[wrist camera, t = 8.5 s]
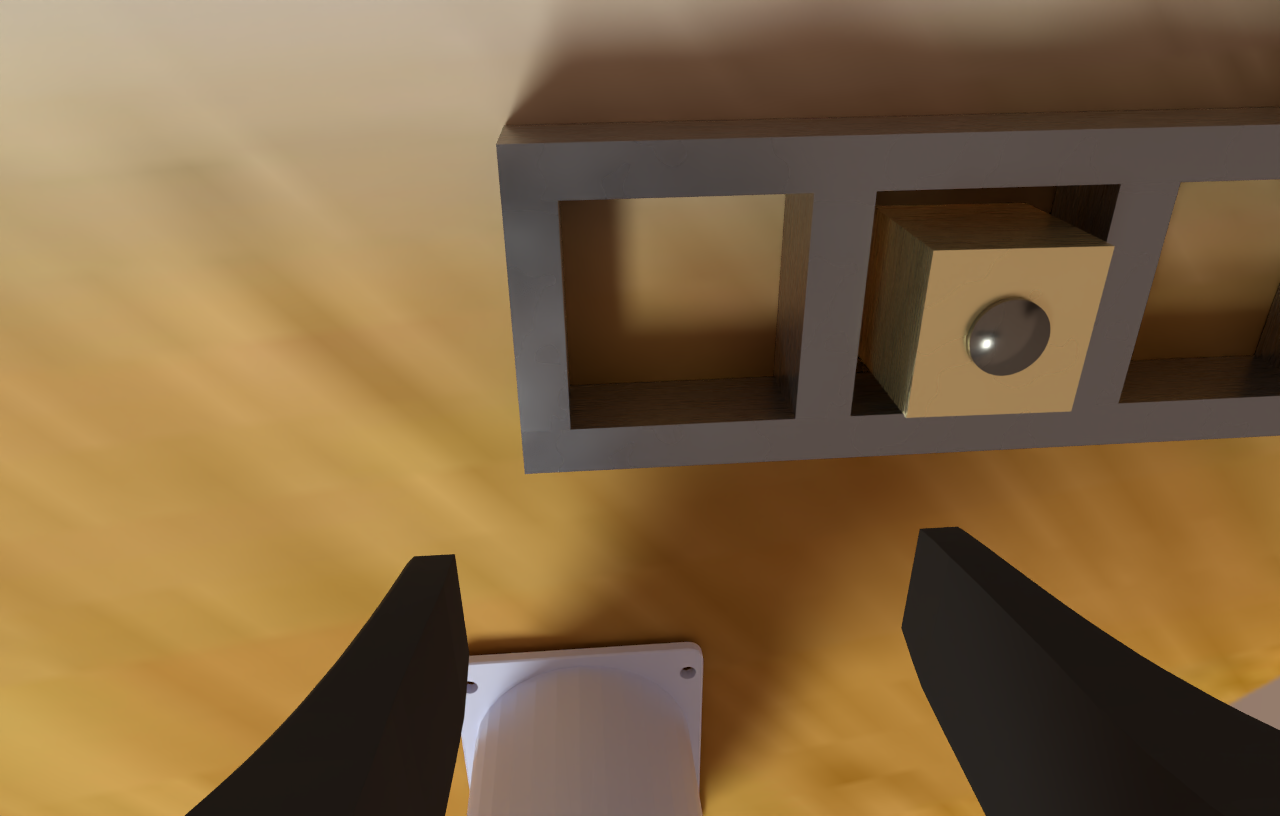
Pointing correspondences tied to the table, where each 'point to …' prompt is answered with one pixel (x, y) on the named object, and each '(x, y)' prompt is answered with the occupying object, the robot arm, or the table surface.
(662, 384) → the grey flat rectangular frame
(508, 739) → the robot arm
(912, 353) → the drawer with knob
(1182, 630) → the table surface
